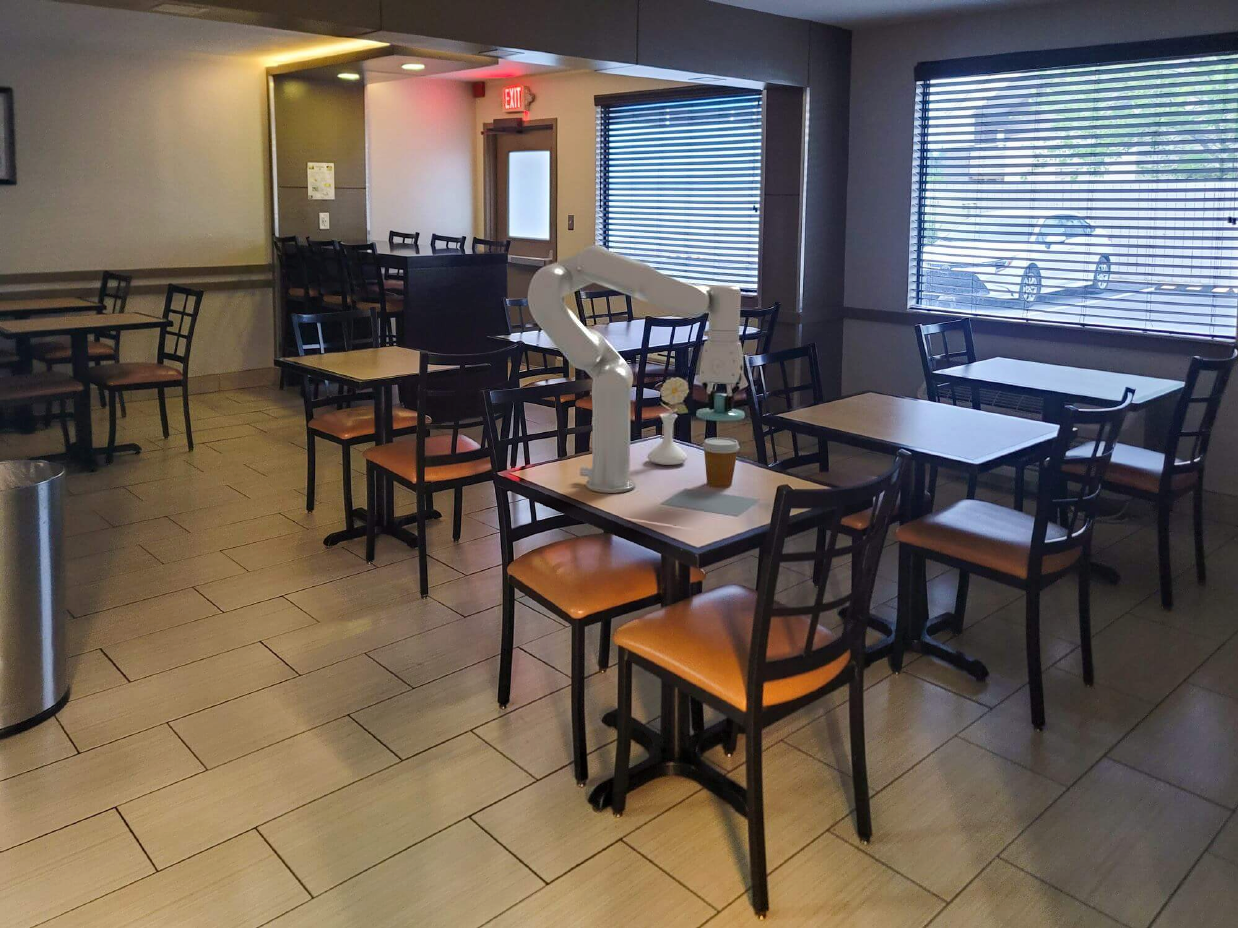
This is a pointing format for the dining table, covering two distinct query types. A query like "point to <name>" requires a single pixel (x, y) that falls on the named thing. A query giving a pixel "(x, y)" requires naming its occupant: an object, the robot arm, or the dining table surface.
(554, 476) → the dining table surface
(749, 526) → the dining table surface
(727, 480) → the disposable coffee cup
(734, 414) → the lid
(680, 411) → the flower in vase
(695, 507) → the mat
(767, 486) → the dining table surface
